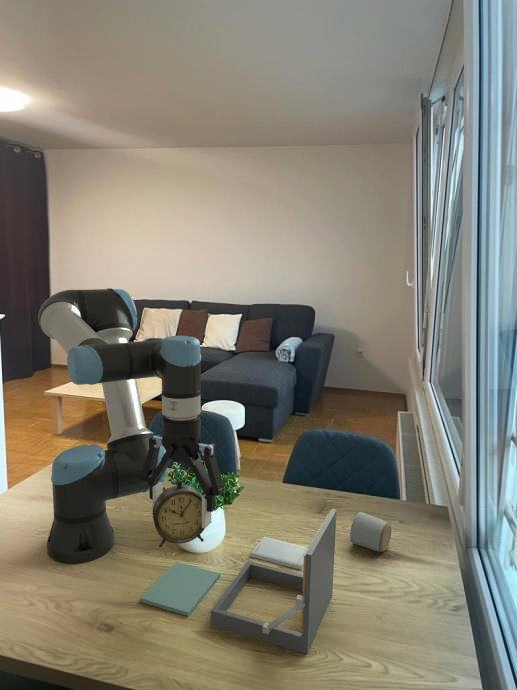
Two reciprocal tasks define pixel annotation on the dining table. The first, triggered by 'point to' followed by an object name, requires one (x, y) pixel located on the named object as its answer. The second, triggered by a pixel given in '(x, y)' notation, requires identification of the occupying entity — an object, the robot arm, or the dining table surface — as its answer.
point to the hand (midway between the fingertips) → (181, 519)
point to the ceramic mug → (370, 532)
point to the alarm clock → (178, 513)
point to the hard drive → (280, 552)
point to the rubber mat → (181, 588)
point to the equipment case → (311, 582)
